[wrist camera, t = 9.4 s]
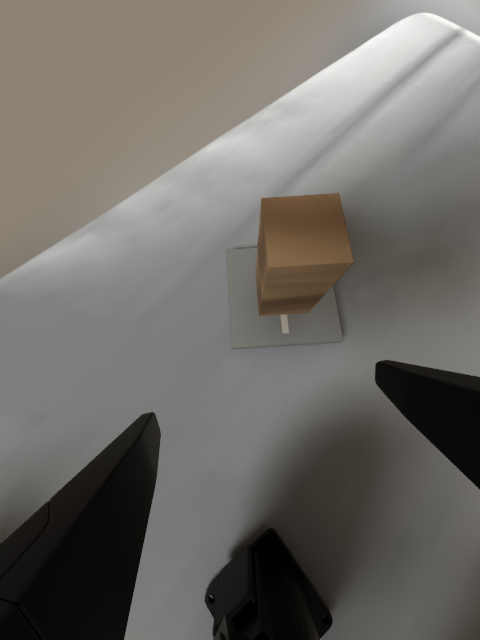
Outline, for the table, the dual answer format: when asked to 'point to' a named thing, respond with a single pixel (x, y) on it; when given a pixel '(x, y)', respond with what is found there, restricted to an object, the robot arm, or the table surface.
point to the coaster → (274, 328)
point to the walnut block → (299, 252)
